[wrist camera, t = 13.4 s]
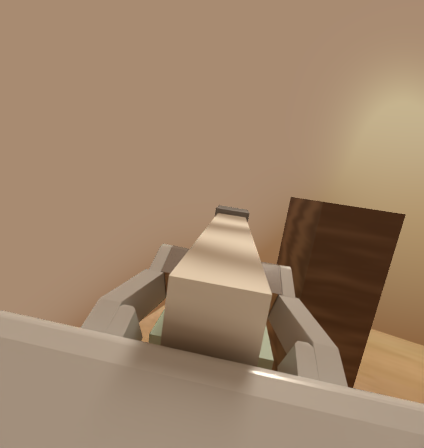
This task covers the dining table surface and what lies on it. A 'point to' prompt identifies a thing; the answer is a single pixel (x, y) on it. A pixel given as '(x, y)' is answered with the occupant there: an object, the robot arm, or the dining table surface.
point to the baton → (219, 293)
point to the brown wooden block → (338, 271)
